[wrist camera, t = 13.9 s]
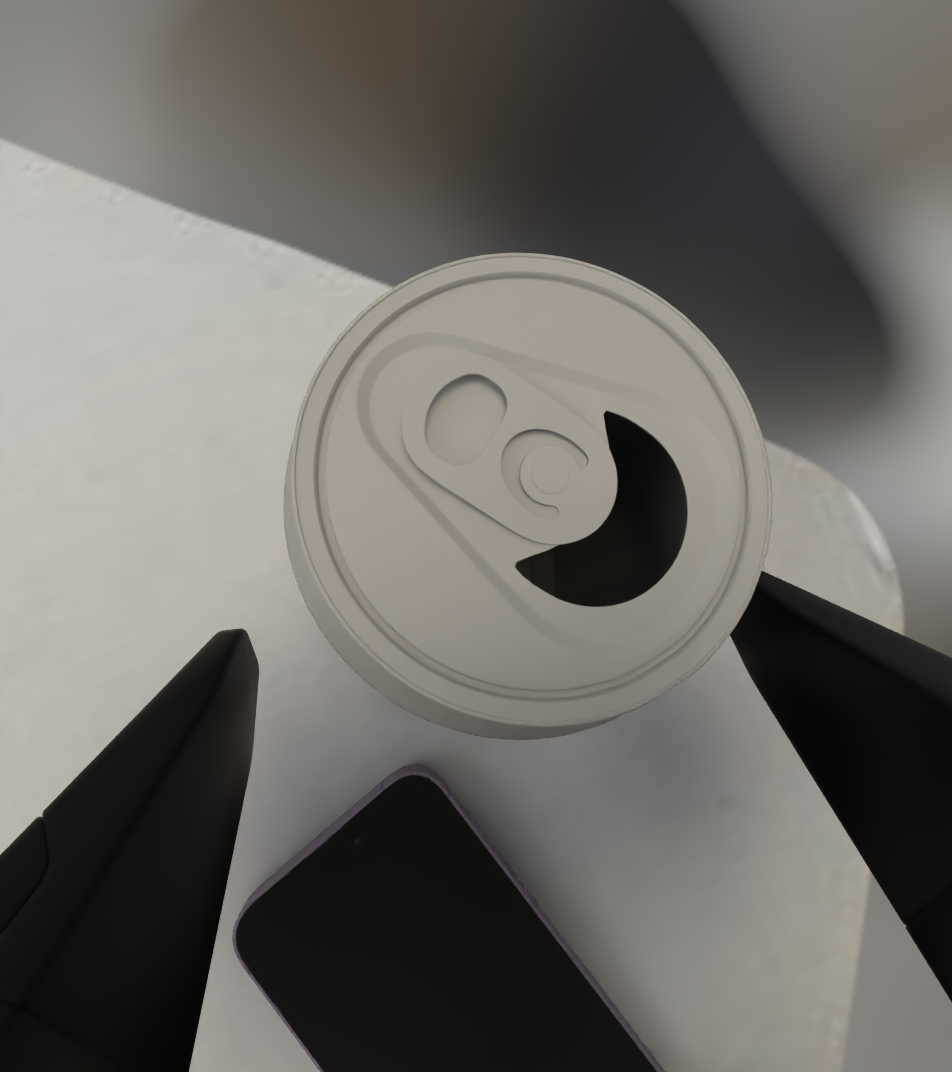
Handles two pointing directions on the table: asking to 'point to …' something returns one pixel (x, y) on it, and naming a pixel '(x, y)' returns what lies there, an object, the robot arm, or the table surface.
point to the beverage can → (525, 496)
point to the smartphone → (423, 950)
